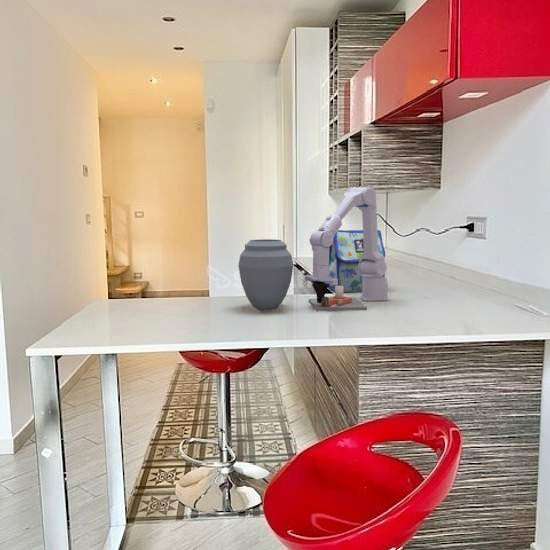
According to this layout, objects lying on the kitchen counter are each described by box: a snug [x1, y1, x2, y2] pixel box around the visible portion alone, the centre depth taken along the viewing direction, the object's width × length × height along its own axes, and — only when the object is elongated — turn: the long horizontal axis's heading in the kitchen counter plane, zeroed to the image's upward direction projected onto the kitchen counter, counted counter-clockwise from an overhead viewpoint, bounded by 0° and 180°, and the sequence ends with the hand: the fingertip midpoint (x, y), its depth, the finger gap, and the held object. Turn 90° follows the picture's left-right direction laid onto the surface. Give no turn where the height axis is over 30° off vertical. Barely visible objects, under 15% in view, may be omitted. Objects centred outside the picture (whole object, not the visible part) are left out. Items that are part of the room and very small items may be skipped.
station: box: [308, 286, 368, 312], centre depth 196 cm, size 18×19×7 cm
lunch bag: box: [327, 229, 386, 293], centre depth 229 cm, size 22×17×26 cm
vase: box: [238, 239, 294, 311], centre depth 190 cm, size 20×20×24 cm
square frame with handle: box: [321, 295, 353, 306], centre depth 193 cm, size 14×7×3 cm, turn 140°
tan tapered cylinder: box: [337, 300, 342, 306], centre depth 190 cm, size 2×2×2 cm
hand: (320, 302), depth 190 cm, fingers closed, pressing on square frame with handle
